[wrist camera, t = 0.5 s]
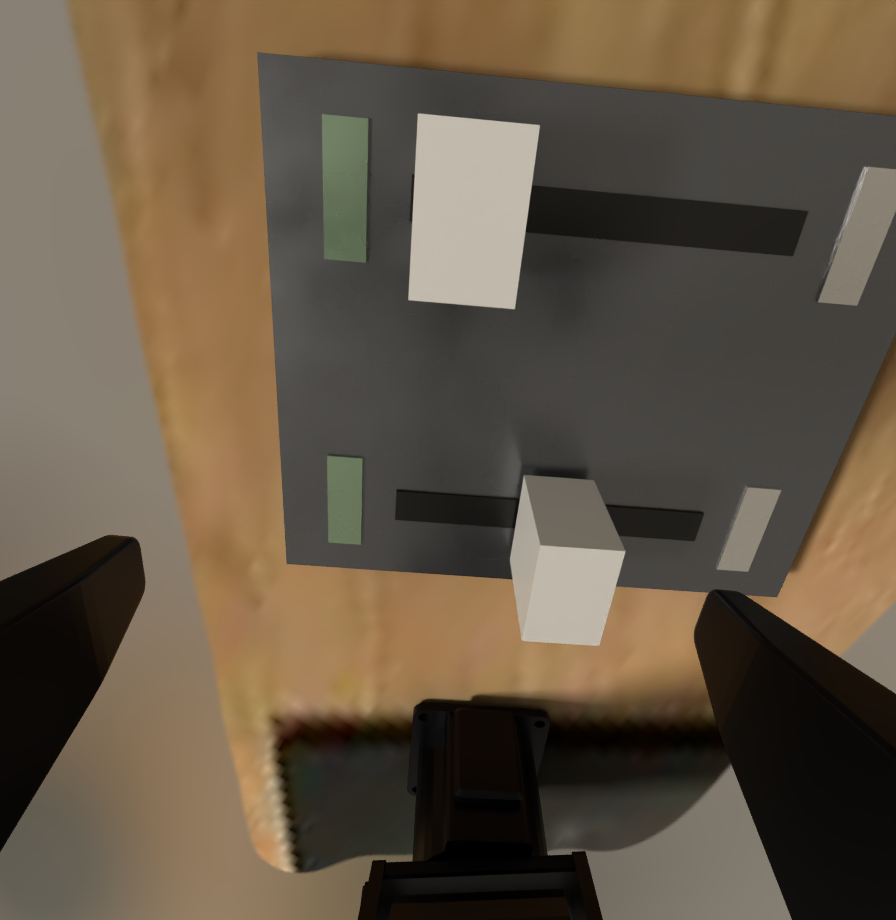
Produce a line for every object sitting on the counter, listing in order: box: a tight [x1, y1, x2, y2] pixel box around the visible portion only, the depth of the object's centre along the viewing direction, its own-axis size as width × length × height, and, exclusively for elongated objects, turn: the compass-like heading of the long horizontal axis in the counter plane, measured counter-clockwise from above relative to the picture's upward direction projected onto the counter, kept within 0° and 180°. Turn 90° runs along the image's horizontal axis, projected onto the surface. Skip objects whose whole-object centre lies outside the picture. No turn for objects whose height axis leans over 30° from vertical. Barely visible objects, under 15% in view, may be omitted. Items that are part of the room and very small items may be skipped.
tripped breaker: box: [510, 475, 626, 646], centre depth 19 cm, size 4×2×4 cm, turn 175°
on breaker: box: [408, 113, 540, 309], centre depth 14 cm, size 4×2×4 cm, turn 175°
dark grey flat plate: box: [257, 52, 896, 597], centre depth 19 cm, size 16×19×2 cm
